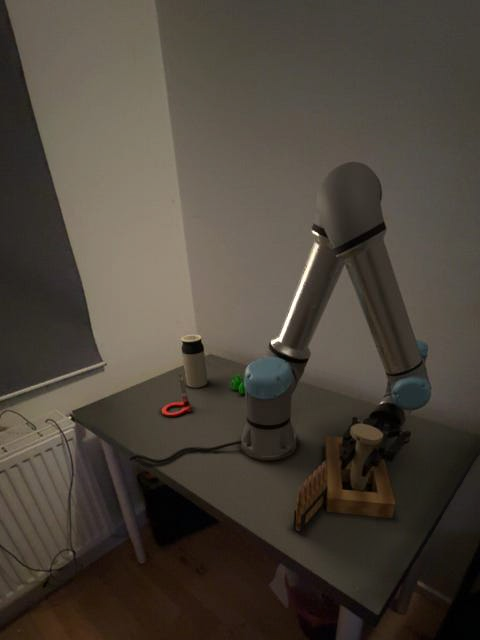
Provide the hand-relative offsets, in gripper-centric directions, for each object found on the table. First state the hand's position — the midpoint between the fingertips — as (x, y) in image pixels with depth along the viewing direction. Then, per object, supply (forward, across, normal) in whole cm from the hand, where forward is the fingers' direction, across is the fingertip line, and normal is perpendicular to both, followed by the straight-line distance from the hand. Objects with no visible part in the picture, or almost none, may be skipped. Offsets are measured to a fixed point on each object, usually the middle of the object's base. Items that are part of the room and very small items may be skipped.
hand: (353, 467), depth 69 cm
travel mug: (-31, +72, -11) cm, 79 cm away
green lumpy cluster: (-38, +52, -11) cm, 65 cm away
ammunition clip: (+6, +6, -11) cm, 14 cm away
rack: (-10, +2, -11) cm, 15 cm away
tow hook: (-12, +64, -11) cm, 66 cm away
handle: (-5, 0, -10) cm, 11 cm away
